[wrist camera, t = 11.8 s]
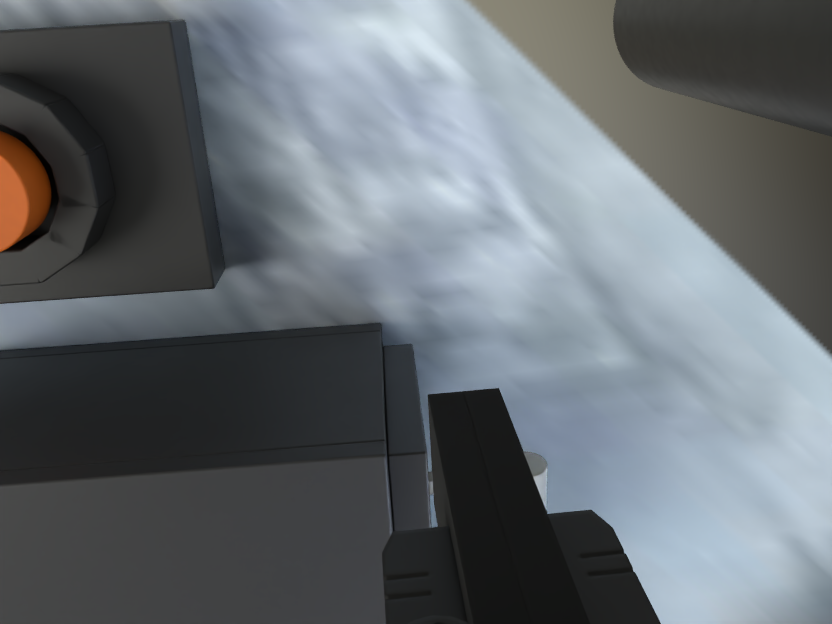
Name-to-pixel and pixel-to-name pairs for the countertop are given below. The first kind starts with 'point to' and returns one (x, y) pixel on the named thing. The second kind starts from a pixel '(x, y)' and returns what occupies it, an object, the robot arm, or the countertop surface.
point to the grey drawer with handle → (417, 444)
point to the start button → (21, 191)
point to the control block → (110, 162)
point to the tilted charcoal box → (196, 480)
